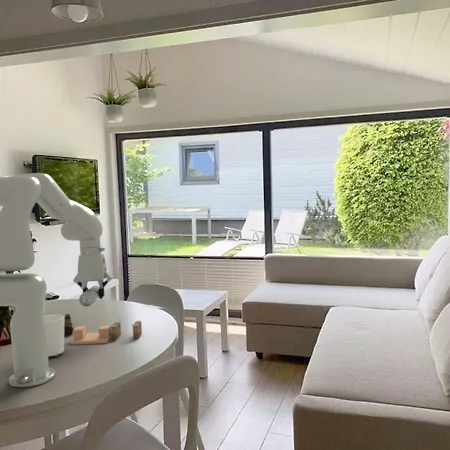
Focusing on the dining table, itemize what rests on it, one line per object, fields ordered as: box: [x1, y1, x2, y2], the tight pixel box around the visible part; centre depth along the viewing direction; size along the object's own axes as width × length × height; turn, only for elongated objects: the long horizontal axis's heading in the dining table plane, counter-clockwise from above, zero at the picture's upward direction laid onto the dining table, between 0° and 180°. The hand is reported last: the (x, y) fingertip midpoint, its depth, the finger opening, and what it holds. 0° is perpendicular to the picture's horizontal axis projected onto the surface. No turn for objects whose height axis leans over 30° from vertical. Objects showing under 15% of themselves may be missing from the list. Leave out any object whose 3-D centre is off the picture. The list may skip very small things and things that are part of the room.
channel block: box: [111, 320, 143, 341], centre depth 172 cm, size 6×10×5 cm, turn 89°
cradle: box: [70, 324, 112, 345], centre depth 171 cm, size 10×13×4 cm
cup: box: [45, 314, 65, 359], centre depth 155 cm, size 10×10×13 cm
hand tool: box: [64, 313, 74, 337], centre depth 185 cm, size 19×4×5 cm, turn 16°
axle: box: [78, 285, 100, 307], centre depth 171 cm, size 12×5×5 cm, turn 179°
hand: (94, 297), depth 174 cm, fingers closed on axle, 5 cm apart
